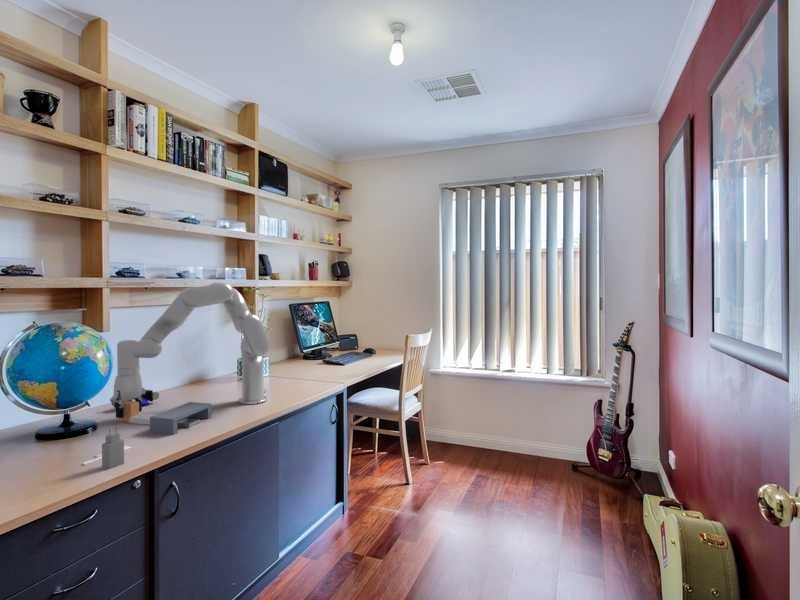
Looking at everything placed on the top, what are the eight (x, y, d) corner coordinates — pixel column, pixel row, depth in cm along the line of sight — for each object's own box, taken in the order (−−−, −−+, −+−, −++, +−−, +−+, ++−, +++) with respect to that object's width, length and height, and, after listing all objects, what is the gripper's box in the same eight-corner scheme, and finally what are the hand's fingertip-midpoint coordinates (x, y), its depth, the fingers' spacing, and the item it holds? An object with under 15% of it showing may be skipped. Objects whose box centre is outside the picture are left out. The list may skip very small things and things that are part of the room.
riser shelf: (190, 415, 186) (189, 401, 185) (211, 417, 184) (211, 403, 183) (149, 432, 164) (149, 417, 164) (173, 434, 162) (173, 419, 162)
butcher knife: (74, 464, 136) (74, 460, 136) (121, 447, 150) (121, 444, 150) (85, 466, 134) (85, 462, 134) (131, 449, 148) (131, 446, 148)
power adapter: (125, 463, 136) (125, 424, 136) (107, 469, 131) (107, 429, 131) (118, 461, 137) (118, 422, 137) (100, 467, 132) (100, 427, 132)
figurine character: (147, 404, 207) (117, 409, 193) (149, 388, 207) (119, 391, 193) (159, 406, 205) (129, 411, 190) (160, 389, 205) (130, 393, 191)
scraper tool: (128, 417, 183) (128, 400, 182) (177, 421, 178) (177, 404, 177) (116, 421, 177) (116, 404, 176) (166, 426, 172) (166, 408, 172)
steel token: (186, 423, 177) (186, 418, 177) (199, 424, 176) (199, 419, 175) (175, 427, 171) (175, 422, 171) (189, 429, 170) (189, 423, 170)
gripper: (137, 367, 188) (138, 408, 188) (101, 375, 171) (102, 420, 171) (152, 367, 186) (153, 409, 187) (118, 376, 169) (118, 421, 170)
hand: (128, 414), depth 179 cm, fingers open, 8 cm apart
